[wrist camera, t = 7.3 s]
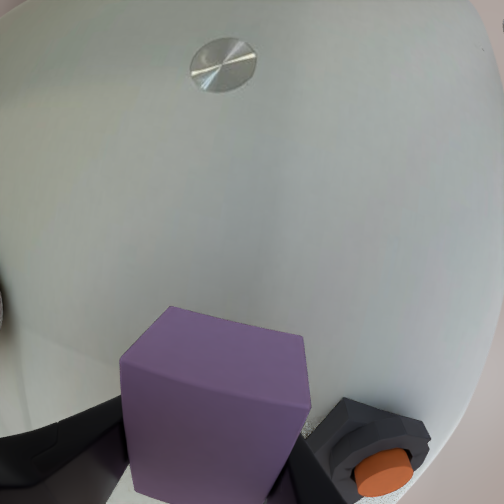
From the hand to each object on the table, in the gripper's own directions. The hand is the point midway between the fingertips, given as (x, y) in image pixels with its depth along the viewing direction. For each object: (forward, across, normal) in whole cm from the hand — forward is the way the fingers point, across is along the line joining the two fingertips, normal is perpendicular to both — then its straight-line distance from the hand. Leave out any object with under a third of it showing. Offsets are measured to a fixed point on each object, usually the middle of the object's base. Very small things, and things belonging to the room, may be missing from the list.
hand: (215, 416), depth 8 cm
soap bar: (+1, 0, 0) cm, 1 cm away
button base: (+8, -9, +14) cm, 18 cm away
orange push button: (+5, -11, +8) cm, 14 cm away
